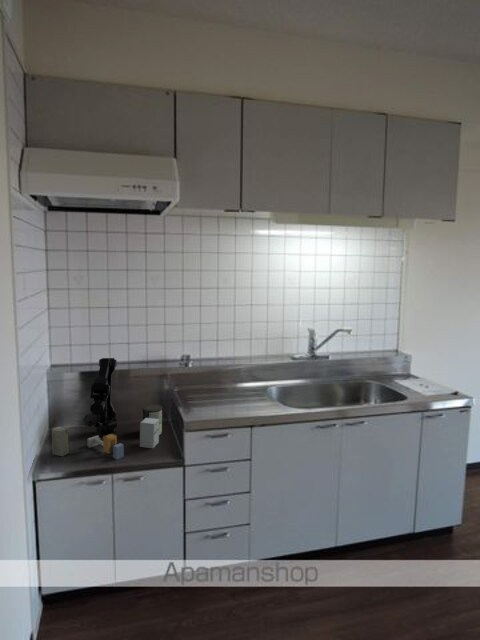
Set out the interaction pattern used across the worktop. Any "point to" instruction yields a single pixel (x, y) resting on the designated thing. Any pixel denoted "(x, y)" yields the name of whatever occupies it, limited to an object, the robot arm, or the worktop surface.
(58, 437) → the skincare box
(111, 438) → the sleeve
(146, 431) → the supplement box
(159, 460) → the worktop surface
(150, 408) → the coffee can
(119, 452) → the grey mallet
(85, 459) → the worktop surface
